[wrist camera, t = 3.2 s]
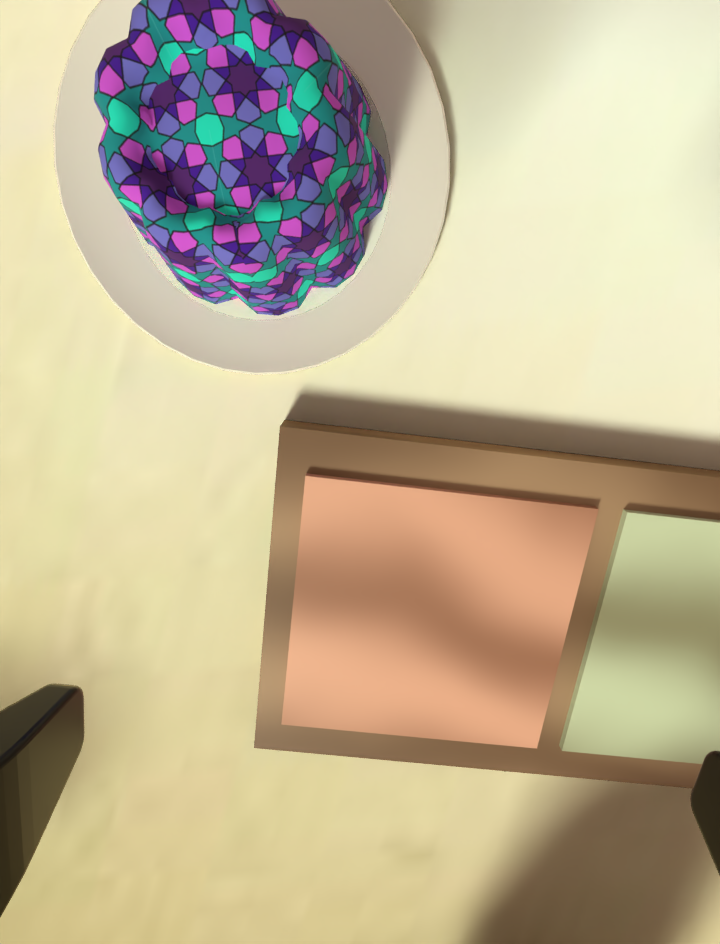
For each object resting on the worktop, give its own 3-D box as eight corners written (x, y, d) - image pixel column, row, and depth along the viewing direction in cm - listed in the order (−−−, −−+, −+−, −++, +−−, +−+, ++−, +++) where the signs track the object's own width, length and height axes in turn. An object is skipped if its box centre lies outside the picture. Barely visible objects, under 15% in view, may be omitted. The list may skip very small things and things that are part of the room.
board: (788, 775, 23) (817, 805, 22) (259, 725, 22) (252, 753, 21) (908, 492, 20) (952, 506, 18) (284, 420, 19) (278, 428, 17)
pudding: (121, 393, 19) (34, 421, 14) (16, -17, 15) (-149, -180, 10) (461, 348, 18) (500, 359, 13) (427, -82, 15) (463, -284, 10)
